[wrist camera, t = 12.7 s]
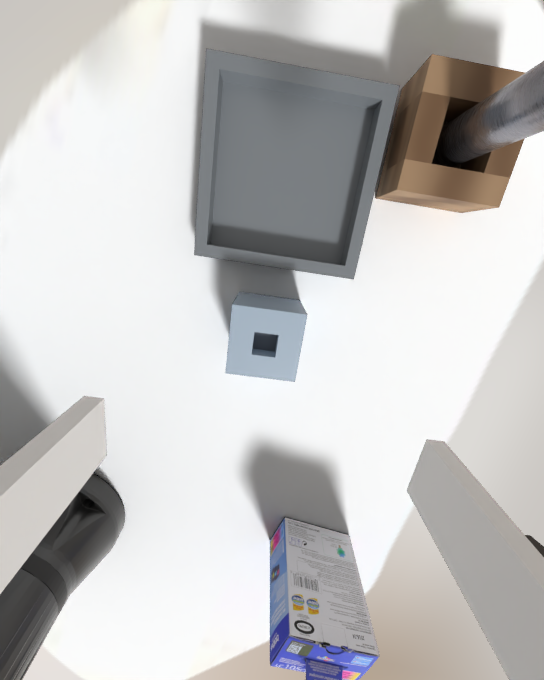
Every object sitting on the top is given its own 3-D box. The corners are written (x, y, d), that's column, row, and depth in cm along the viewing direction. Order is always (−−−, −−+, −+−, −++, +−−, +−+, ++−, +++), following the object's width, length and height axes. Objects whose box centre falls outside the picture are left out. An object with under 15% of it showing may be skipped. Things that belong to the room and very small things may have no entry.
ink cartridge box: (267, 542, 39) (266, 704, 26) (282, 514, 38) (289, 670, 24) (333, 560, 41) (365, 723, 27) (350, 533, 39) (394, 692, 25)
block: (233, 348, 30) (225, 373, 24) (239, 291, 28) (232, 304, 23) (290, 355, 30) (294, 381, 25) (299, 300, 29) (307, 314, 23)
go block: (375, 198, 26) (396, 189, 21) (401, 88, 23) (431, 54, 19) (461, 212, 26) (499, 207, 22) (496, 107, 23) (546, 77, 19)
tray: (200, 253, 27) (194, 254, 25) (212, 68, 22) (206, 48, 20) (346, 276, 28) (353, 279, 25) (386, 101, 23) (399, 85, 21)
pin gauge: (416, 168, 24) (602, 80, 11) (428, 124, 23) (650, -34, 10) (452, 174, 24) (678, 95, 11) (466, 131, 23) (733, -15, 10)
